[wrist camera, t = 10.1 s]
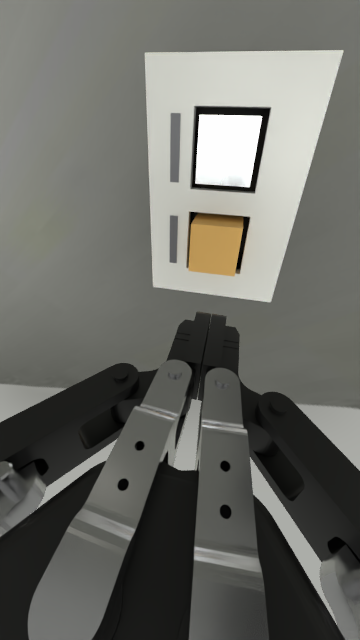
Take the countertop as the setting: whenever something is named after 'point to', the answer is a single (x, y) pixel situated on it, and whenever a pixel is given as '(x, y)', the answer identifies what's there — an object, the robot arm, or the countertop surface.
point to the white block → (226, 149)
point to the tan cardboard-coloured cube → (215, 243)
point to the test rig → (275, 166)
